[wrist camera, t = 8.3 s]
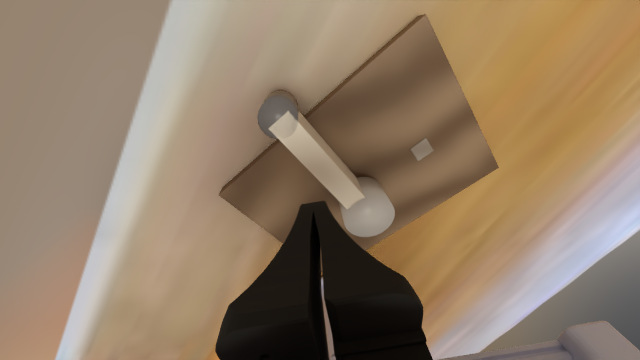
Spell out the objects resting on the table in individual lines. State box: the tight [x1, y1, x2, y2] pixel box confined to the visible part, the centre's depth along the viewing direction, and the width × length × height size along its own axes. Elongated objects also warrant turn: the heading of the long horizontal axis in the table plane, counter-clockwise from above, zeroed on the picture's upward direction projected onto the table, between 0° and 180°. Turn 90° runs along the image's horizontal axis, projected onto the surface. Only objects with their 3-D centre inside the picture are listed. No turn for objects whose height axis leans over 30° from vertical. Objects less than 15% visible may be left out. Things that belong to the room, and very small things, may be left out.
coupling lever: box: [258, 90, 395, 237], centre depth 19 cm, size 14×4×3 cm, turn 39°
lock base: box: [219, 14, 499, 273], centre depth 23 cm, size 16×22×2 cm
